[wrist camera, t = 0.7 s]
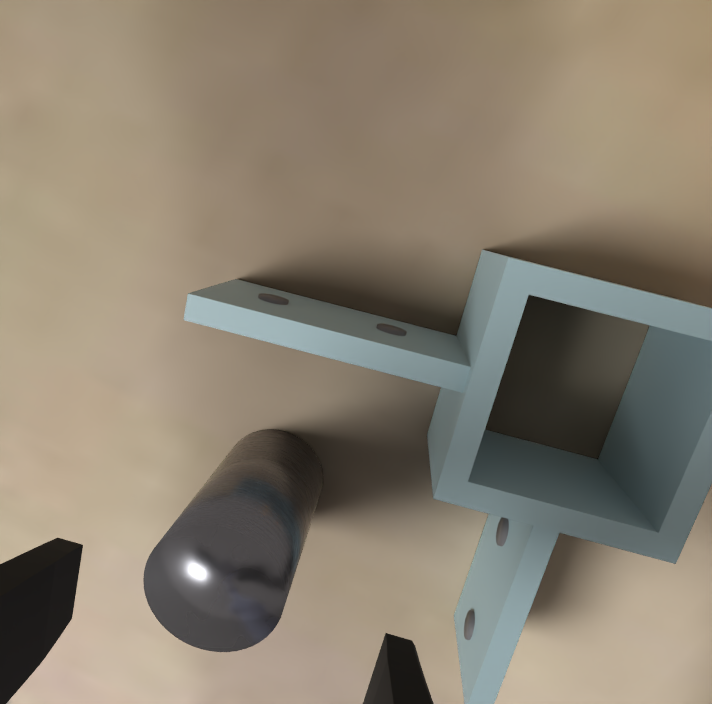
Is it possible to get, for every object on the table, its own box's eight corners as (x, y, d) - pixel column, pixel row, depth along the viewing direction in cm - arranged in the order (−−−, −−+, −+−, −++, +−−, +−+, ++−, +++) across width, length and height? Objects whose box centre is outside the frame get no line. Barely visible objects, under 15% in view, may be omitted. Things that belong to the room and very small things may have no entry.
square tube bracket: (548, 641, 22) (588, 757, 17) (186, 542, 23) (126, 628, 18) (684, 300, 19) (782, 326, 14) (252, 191, 19) (199, 179, 14)
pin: (310, 532, 22) (268, 667, 15) (217, 506, 22) (134, 629, 15) (333, 444, 21) (298, 547, 14) (235, 418, 21) (155, 508, 14)
